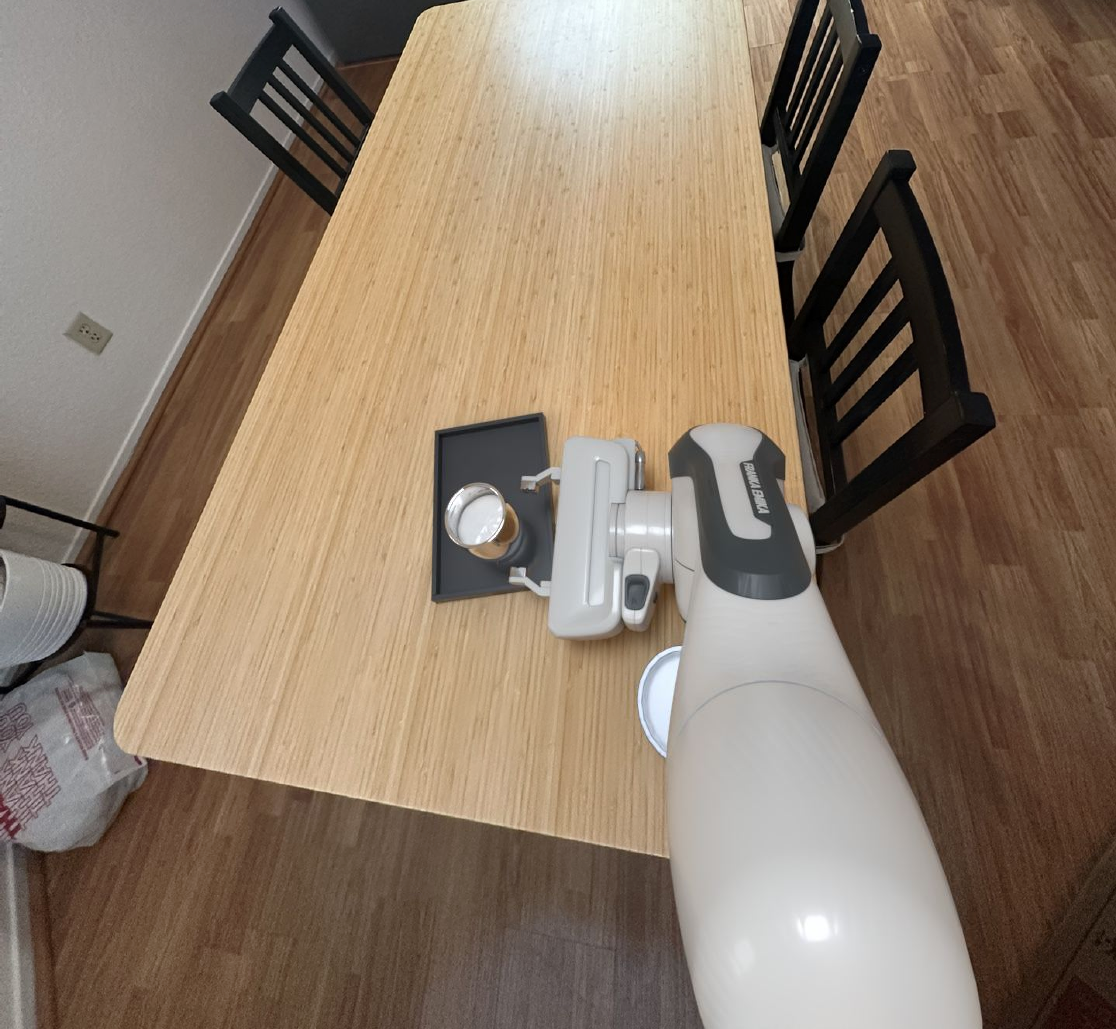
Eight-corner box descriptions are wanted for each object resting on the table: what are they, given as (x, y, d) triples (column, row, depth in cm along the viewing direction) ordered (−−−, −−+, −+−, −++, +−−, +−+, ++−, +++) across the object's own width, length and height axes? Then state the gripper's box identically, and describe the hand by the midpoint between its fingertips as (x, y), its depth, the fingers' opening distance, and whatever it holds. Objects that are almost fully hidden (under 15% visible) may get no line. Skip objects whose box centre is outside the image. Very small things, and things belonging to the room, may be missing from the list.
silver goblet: (475, 535, 78) (432, 503, 66) (524, 505, 79) (490, 467, 67) (499, 588, 74) (457, 564, 62) (549, 556, 75) (518, 526, 63)
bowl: (752, 760, 61) (754, 762, 58) (650, 771, 62) (647, 774, 59) (726, 643, 67) (727, 639, 63) (634, 655, 68) (629, 651, 64)
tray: (560, 585, 73) (557, 583, 72) (436, 603, 75) (430, 600, 74) (545, 417, 86) (542, 411, 84) (439, 435, 87) (434, 430, 86)
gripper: (643, 428, 68) (521, 426, 71) (640, 643, 57) (494, 630, 60) (648, 448, 73) (533, 445, 76) (645, 648, 62) (511, 636, 65)
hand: (516, 528), depth 68 cm, fingers open, 8 cm apart
